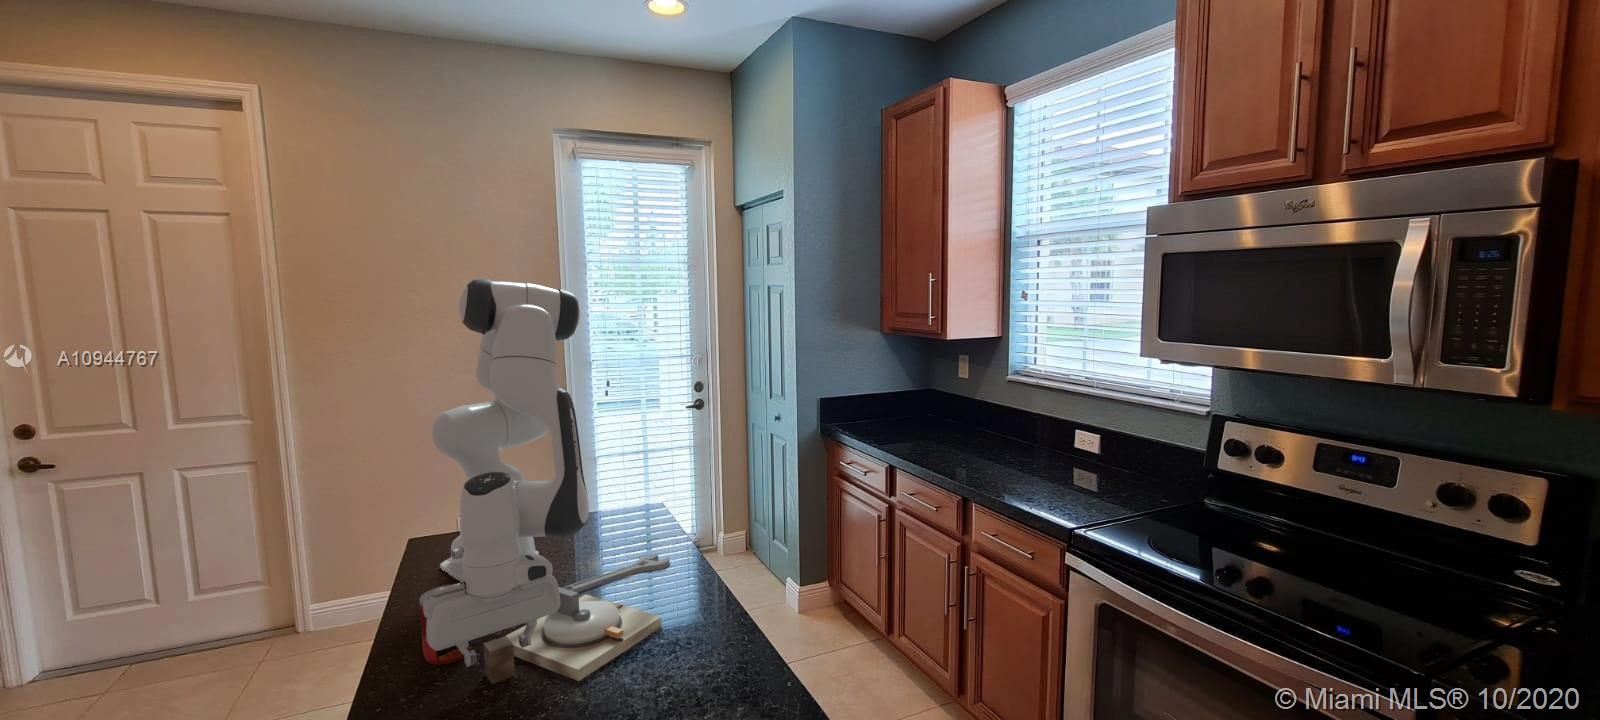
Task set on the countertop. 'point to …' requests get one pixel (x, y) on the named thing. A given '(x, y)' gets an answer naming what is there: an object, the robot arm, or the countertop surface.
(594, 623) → the dial
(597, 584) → the adjustable wrench
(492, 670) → the block
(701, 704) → the countertop surface
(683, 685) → the countertop surface
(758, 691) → the countertop surface
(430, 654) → the canned food
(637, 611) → the panel
